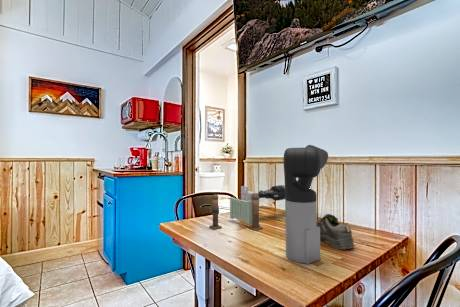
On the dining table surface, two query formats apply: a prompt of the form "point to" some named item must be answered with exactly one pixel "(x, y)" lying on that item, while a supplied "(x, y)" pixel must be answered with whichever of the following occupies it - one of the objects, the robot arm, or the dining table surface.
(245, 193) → the ink box
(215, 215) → the post
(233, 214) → the gate
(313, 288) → the dining table surface
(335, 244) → the hiking shoe
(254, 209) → the hinge post
